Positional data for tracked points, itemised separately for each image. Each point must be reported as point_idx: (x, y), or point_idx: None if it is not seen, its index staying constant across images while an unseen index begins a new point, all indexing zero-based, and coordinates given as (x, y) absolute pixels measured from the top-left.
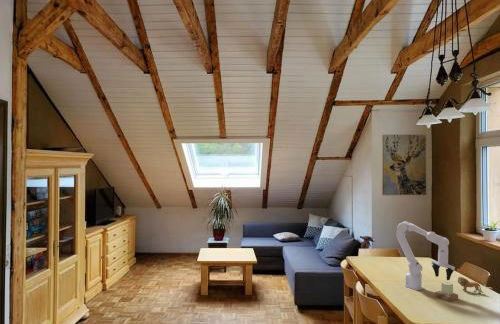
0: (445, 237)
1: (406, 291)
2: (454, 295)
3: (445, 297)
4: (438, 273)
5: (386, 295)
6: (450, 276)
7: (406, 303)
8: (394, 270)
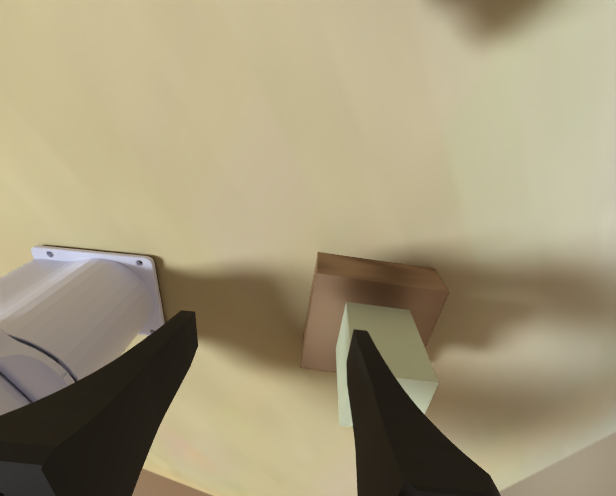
0: None
1: None
2: (431, 330)
3: None
4: (175, 340)
5: (164, 476)
6: (386, 369)
7: (276, 487)
8: None
